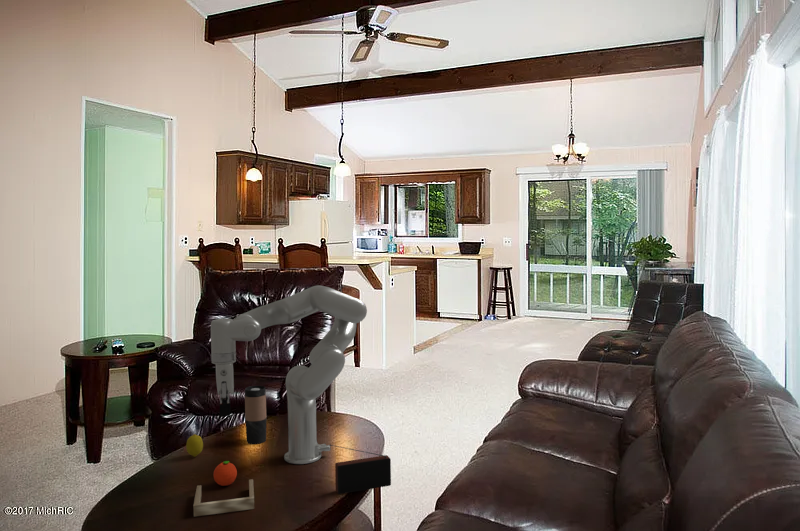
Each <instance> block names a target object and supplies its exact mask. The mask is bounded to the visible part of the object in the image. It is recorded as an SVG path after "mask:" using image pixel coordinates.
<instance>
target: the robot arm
mask: <svg viewBox="0 0 800 531" xmlns="http://www.w3.org/2000/svg"><path fill="white" fill-rule="evenodd" d="M317 312H322V313H324V314H327V315H329V316H332V317H334V321H333V325H332V326H331V328H330V329H329V331H328V332H327V333H326V334H325V336H323V337H322V338H321V339H320V341H319V342H318V343H317V344H316V345H315V346H314V347H313V348H312V349H311V351H310V353H309V357H308V359H309V362H310V366H309V367H308V366H305V365H296V366H293V367H292V368H291V369H290V370H288V373H287V374H286V377H285V390H286V391H285V392H286V399H287V423H288V424H287V425H288V433H287V434H288V435H287V436H288V451H287V452H285V453H284V454H283V455H284V456H283V458H284V461H285V462H287V463H289V464H294V465H304V464H305V465H306V464H312V463H315V462H317V461H319V460H320V459H321V457H322V452H330V451H331V450H332V449H331V446H330V445H331V444H326V443H322V444H320V443H318V441H317V439H318V437H317V402H316V399H317V398H319V397H320V396H321V395H323V393H324V392H326V390H327V389H328V387H330V385H331V384H332V383H333V382H334V381H335V380H336V378H337V377H338V376H339V375H340V373H342V371H343V369H344V366H345V363H346V358H345V354H344V352H345V350H346V349H347V348H348V347H349V345H350V344H351V343H352V341H353V340H354V338H355V336H356V333H357V324H359V323H362V322H363V320H364V319H365V318H366V316H367V312H368V309H367V305H366V303H365V302H364V301H363V300H362V299H360V298H356V297H354V296H351V295H349V294H346V293H344V292H341V291H339V290H337V289H334V288H332V287H329V286H324V285H314V286H310V287H309V288H307V289H304V290H302V291H299V292H297V293H294V294H292V295H289V296H287V297H283V299H282V298H281V299H279V300H276V301H272V302H271V303H267V304H264V305H262V306H258V307H255V308H253V309H251V310H248V311H247V312H246V311H245V312H243V313H241V314H240V315H238V316H236V317H235V318H234V319H232V318H217V319H213V320H212V321H211V322H210V344H211V345H210V349H211V354H210V356H211V364H213V365H215V380H216V381H215V382H216V389H217V395H219V417H228V416H231V406H232V405H231V398H230V397H231V396H230V394H231V395H233V394H234V391H235V389H234V388H235V382H234V381H235V380H234V363H236V362H237V350H236V348H237V347H236V341H238V342H253V341H254V340H256V339H257V338H259V337H260V335H261V333H262V329H265V328H268V327H271V326H276V325H285V324H286V325H287V324H292V323H294V322H297V321H299V320H301V319H303V318H305V317H308V316H310V315H312V314H315V313H317Z"/></svg>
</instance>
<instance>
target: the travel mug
mask: <svg viewBox="0 0 800 531" xmlns="http://www.w3.org/2000/svg"><path fill="white" fill-rule="evenodd" d="M266 393H267V391H266V386H264V385H251V386H250V385H249V386H247V387H245V389H244V410H245V411H244V415H245V416H244V418H245V420H244V421H245V436H246V443H247V444H249V445H261V444H264V443H265V442H266V441H267V396H266Z"/></svg>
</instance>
